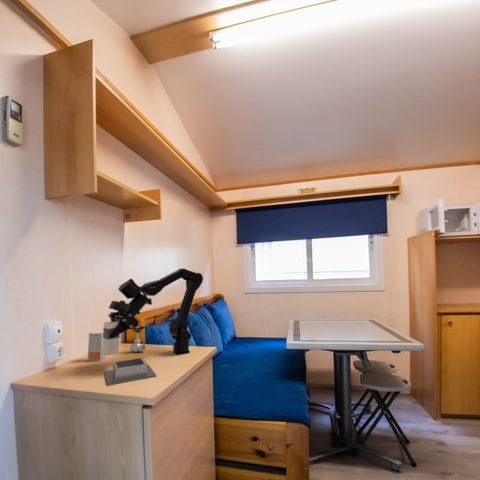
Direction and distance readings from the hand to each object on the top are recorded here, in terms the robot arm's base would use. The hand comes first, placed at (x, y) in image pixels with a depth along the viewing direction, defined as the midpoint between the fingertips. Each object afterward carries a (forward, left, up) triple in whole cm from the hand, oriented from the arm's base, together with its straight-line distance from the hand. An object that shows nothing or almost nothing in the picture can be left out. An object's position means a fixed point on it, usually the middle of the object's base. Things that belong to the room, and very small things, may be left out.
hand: (107, 336), depth 113 cm
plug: (-1, 0, -7) cm, 7 cm away
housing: (-7, +11, -13) cm, 18 cm away
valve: (-15, -24, -13) cm, 31 cm away
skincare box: (+3, -20, -13) cm, 24 cm away
